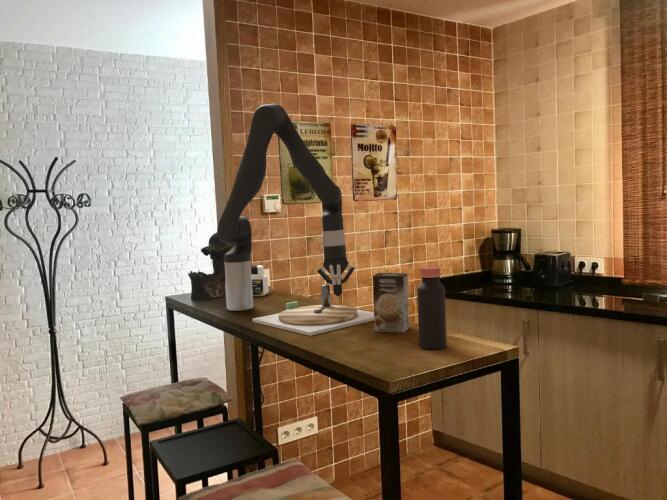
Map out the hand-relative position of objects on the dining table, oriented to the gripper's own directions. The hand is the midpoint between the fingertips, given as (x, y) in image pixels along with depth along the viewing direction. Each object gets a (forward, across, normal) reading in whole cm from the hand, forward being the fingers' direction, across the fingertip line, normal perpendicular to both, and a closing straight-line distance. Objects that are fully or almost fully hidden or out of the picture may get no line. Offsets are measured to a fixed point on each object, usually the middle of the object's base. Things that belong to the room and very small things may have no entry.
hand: (338, 295), depth 195 cm
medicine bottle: (+5, +41, -38) cm, 56 cm away
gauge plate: (+6, +5, +11) cm, 13 cm away
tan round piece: (+4, +5, +11) cm, 13 cm away
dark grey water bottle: (+7, -31, +44) cm, 54 cm away
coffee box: (+6, -20, +25) cm, 33 cm away
